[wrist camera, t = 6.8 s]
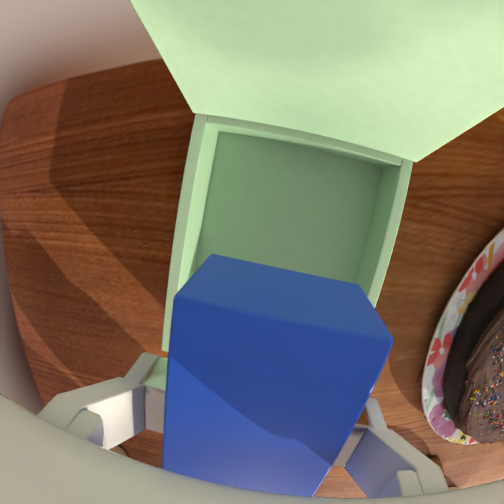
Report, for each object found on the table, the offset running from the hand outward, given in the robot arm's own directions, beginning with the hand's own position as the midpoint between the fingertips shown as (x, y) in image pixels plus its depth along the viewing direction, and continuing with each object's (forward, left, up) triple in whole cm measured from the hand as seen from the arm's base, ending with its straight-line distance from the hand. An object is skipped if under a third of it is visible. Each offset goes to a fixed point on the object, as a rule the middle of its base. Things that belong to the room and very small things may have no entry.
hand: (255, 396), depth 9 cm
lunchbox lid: (-5, +10, -2) cm, 12 cm away
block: (0, 0, -1) cm, 1 cm away
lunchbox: (0, +1, -16) cm, 16 cm away
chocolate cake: (+27, +10, -16) cm, 33 cm away
